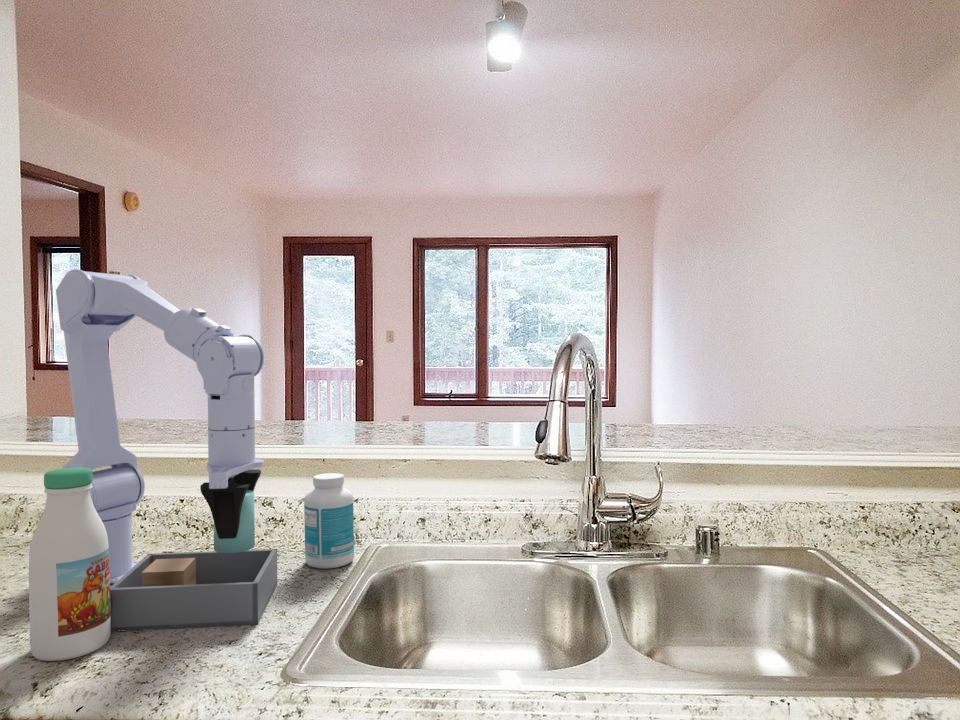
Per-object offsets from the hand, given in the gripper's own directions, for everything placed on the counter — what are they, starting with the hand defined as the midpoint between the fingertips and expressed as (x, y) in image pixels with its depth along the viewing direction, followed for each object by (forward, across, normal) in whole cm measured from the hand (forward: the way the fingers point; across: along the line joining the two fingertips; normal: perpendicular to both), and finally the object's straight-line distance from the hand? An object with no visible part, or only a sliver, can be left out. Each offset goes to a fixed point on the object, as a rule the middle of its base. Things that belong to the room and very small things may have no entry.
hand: (232, 531), depth 86 cm
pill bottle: (+10, +14, -11) cm, 21 cm away
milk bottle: (+10, -10, +15) cm, 21 cm away
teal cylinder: (+2, 0, 0) cm, 2 cm away
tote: (+9, 0, +4) cm, 10 cm away
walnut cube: (+9, 0, +8) cm, 12 cm away
